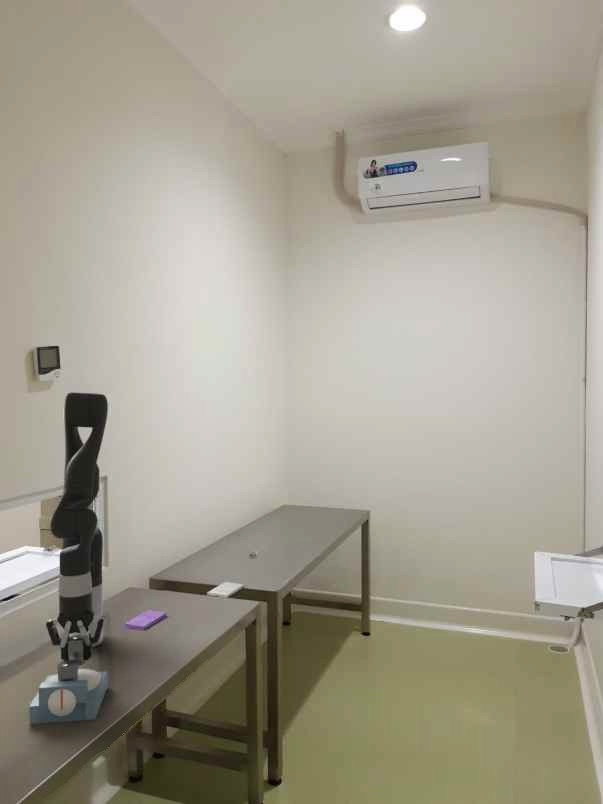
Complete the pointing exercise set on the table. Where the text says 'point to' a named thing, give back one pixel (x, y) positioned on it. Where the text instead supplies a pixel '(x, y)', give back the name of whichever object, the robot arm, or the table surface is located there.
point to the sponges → (145, 620)
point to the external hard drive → (225, 589)
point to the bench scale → (69, 698)
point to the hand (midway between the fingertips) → (76, 659)
